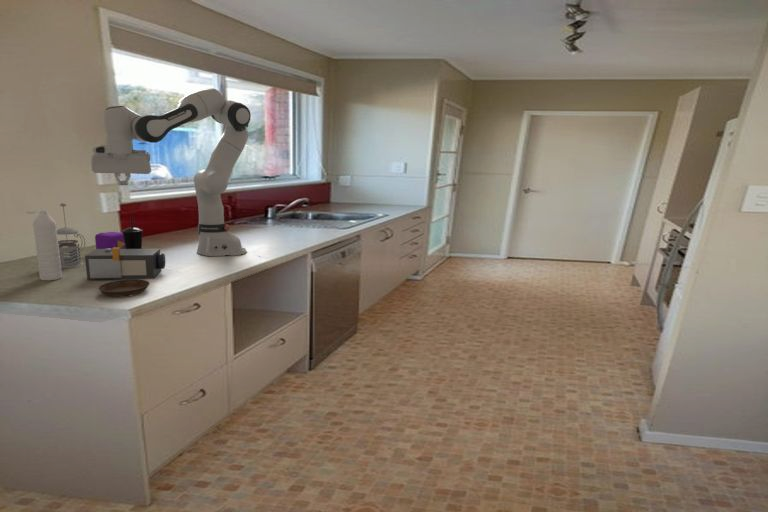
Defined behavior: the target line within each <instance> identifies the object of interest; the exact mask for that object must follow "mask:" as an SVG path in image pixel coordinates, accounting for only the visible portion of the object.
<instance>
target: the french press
mask: <svg viewBox="0 0 768 512" xmlns="http://www.w3.org/2000/svg"><path fill="white" fill-rule="evenodd" d="M59 207H62V211H63V212H65V207H67V204H66V203H65V202H63V203H62V202H61V203H60V204H59ZM63 218H64V220H63V221H66V215H65V213H63ZM66 224H67V223H66V222H64V227H61V228H57V229H56V230H57V235H66V238H68V235H74V237H75V238H78V237H79V238H80V240H81V242H83V240H84V242H83V243H84V245H83V243H81V245H80V244H79V243H78V242H79V241H78V240H76V239H64V240H62V239H61V240H58V245H59V253H60V254H59V256H60V262H61V269H70V268H71V269H72V268H78V267H79V268H80V267H82V266H84V265H85V263H84V262H82V259H81V251H83V250H84V248H85V246H86V239H85V237H84V235H82V234H80V233H79V230H78V229H76V228H73V227H67V225H66ZM82 247H83V248H82ZM81 248H82V249H81Z"/></svg>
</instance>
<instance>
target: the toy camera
mask: <svg viewBox="0 0 768 512" xmlns="http://www.w3.org/2000/svg"><path fill="white" fill-rule="evenodd" d="M94 239H95V240H94V241H95V247H96V248H95V250H96V249H107V248H111V249H112V248H120V249H126V247H125V242H124V236H123V232H118V231H106V232H104V231H100V232H99V233H96V234H95V236H94Z"/></svg>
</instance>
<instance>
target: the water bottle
mask: <svg viewBox="0 0 768 512" xmlns="http://www.w3.org/2000/svg"><path fill="white" fill-rule="evenodd" d="M26 214H27V215H35V214H37V210H36V209H35V210H33V209H29V210H26ZM32 228H33V233H34V240H35V249H36V257H37V258H36V259H37V265H38V272H39V273H38V275H39V280H41V281H48V282H49V281H55V280H59V279H61V278H63V271H62V268H61V262H60V256H59V254H60V253H59V245H60V244H58V241H59V239H58V237H59V236H58V234H57V230H58V228H57V223H56V220H54V218H53V217H52V216H51V215H50V214H49V211H48V209H43V208H42V209H39V210H38V215H37V216H36V218H35V219H34V220H33V223H32Z"/></svg>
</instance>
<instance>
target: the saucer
mask: <svg viewBox="0 0 768 512" xmlns="http://www.w3.org/2000/svg"><path fill="white" fill-rule="evenodd" d="M149 285H150V281H148V280H146V279H119V280H115V281H111V282H107V283H104V284H101V285H100V286H98V289H97V290H99V291H100V292H101V293H102V294H104V295H105V296H108V297H111V296H112V298H123V297H122V296H126V297H131V296H130V295H133V296H136V295H139V294H141V293H144V291H146V290H147V288H148V287H149Z"/></svg>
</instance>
